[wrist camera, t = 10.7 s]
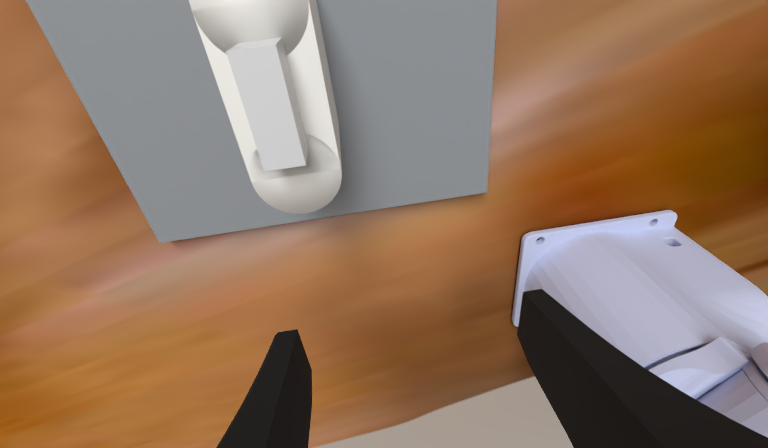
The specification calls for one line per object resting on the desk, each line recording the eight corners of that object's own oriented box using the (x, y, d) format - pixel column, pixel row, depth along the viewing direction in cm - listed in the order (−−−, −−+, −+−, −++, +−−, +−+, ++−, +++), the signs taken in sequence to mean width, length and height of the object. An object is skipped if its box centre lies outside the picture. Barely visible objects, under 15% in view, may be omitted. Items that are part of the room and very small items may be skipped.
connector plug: (305, -61, 13) (287, -89, 8) (344, 152, 17) (350, 228, 12) (219, -50, 13) (141, -70, 8) (280, 162, 17) (258, 243, 12)
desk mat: (499, -228, 12) (510, -241, 11) (481, 185, 20) (487, 192, 20) (-49, -169, 11) (-73, -177, 11) (165, 234, 20) (159, 242, 19)
